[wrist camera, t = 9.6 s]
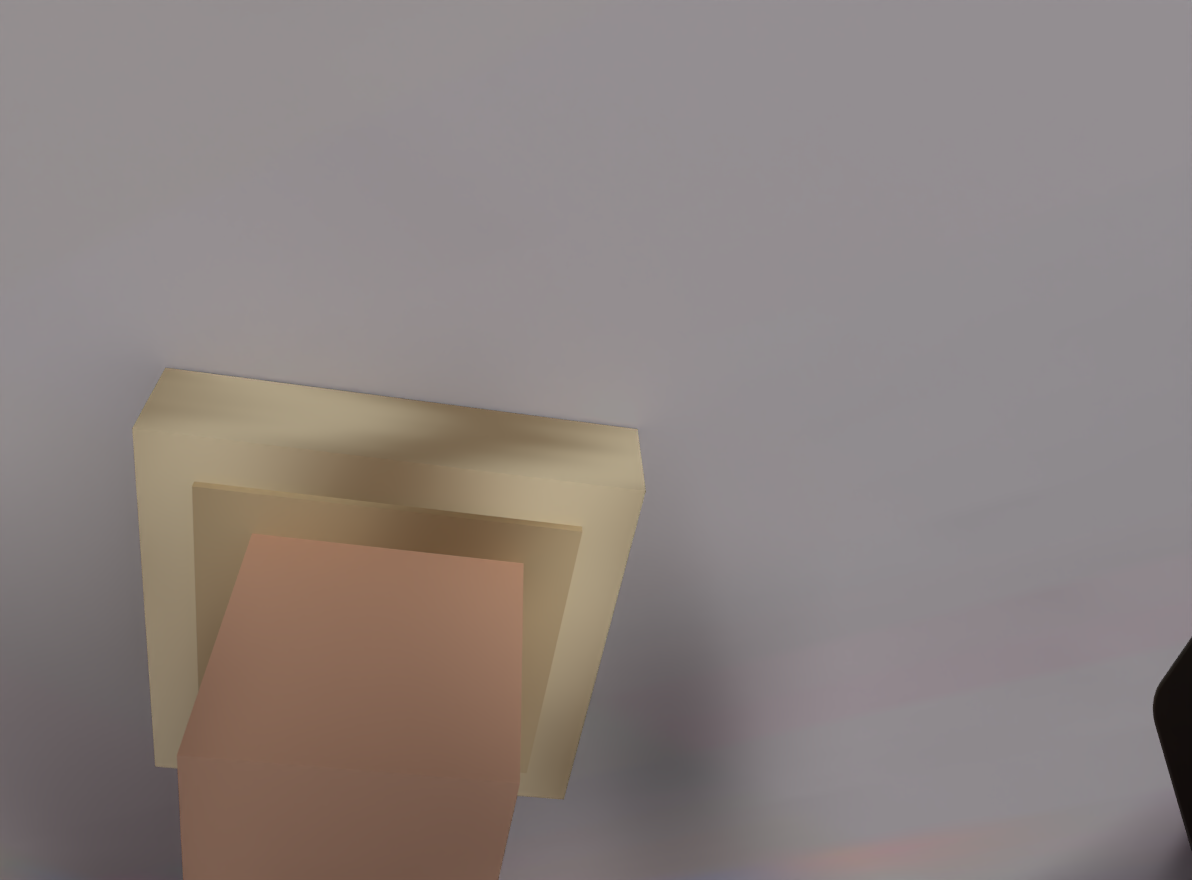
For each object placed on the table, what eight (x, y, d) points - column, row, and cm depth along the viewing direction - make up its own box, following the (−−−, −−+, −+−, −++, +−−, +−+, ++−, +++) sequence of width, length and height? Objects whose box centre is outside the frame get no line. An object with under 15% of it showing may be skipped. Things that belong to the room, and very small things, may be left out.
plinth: (637, 429, 21) (646, 495, 20) (562, 730, 26) (563, 805, 25) (165, 367, 20) (129, 432, 18) (180, 695, 25) (153, 772, 23)
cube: (524, 563, 20) (519, 783, 16) (489, 737, 23) (479, 962, 19) (251, 533, 20) (177, 755, 16) (250, 717, 22) (186, 945, 18)
